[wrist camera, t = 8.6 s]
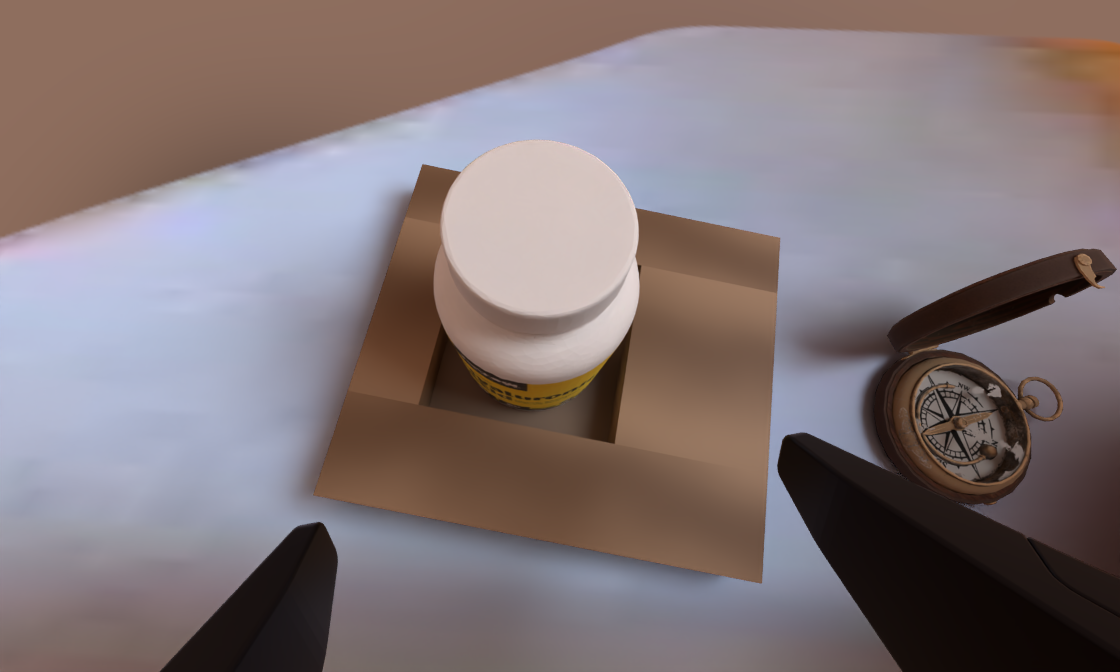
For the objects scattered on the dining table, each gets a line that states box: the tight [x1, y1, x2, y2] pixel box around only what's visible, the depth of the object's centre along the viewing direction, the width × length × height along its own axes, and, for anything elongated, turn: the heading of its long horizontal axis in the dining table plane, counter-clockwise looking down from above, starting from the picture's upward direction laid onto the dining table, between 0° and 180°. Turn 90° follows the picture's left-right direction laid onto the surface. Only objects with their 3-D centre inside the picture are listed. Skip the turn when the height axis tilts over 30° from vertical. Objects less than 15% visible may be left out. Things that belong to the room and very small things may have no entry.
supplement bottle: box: [434, 140, 640, 411], centre depth 14 cm, size 5×5×10 cm
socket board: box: [313, 164, 780, 583], centre depth 18 cm, size 13×15×2 cm
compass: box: [874, 249, 1117, 505], centre depth 16 cm, size 8×8×7 cm
